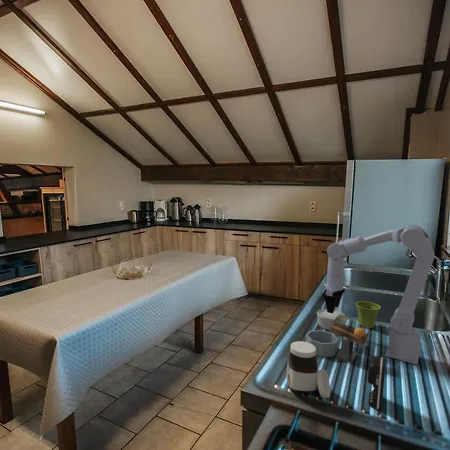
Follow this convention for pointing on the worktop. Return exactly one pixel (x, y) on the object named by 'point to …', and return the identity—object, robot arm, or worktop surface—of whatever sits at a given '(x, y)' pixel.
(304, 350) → the spread jar
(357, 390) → the worktop surface
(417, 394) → the worktop surface
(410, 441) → the worktop surface
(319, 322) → the ramekin
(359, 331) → the ball
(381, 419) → the worktop surface
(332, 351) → the bowl
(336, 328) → the lever
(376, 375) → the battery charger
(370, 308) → the plant pot
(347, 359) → the fulcrum
